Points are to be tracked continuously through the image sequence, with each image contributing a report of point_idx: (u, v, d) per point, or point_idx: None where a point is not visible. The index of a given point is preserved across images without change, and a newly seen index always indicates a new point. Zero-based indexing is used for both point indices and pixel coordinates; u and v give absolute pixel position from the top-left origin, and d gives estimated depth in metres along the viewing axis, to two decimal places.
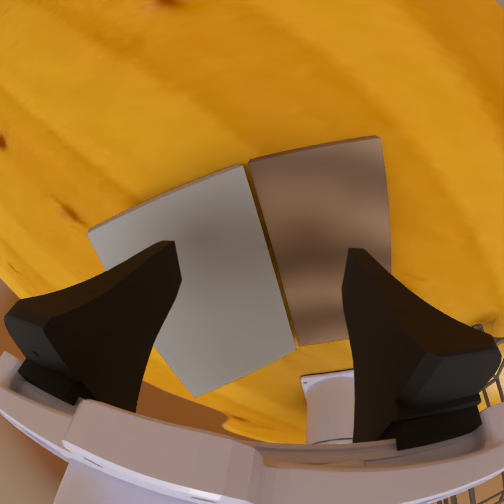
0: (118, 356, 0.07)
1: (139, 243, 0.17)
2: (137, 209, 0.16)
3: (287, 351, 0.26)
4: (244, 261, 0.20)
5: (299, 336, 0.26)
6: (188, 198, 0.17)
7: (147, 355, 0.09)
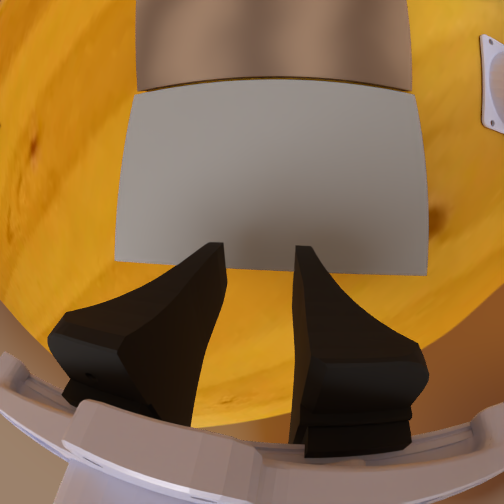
0: (180, 369, 0.07)
1: (146, 211, 0.15)
2: (118, 199, 0.15)
3: (411, 105, 0.13)
4: (227, 107, 0.14)
5: (392, 83, 0.13)
6: (133, 147, 0.15)
7: (200, 364, 0.09)
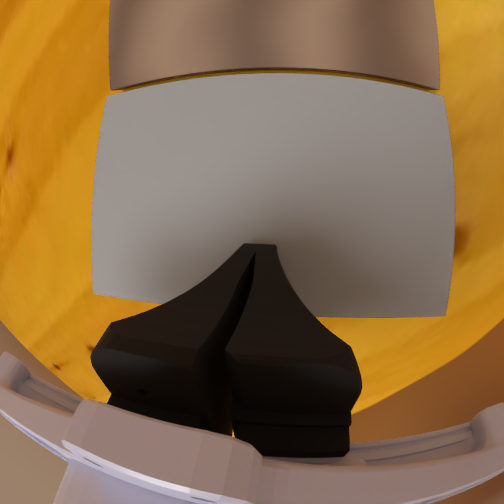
0: None
1: (122, 239, 0.13)
2: (92, 223, 0.13)
3: (439, 109, 0.10)
4: (214, 109, 0.11)
5: (418, 79, 0.10)
6: (106, 161, 0.12)
7: None
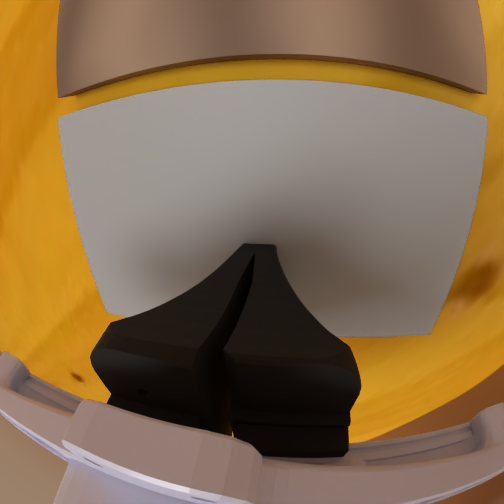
0: None
1: (122, 274, 0.13)
2: (87, 257, 0.13)
3: (479, 136, 0.07)
4: (190, 137, 0.09)
5: (461, 79, 0.06)
6: (81, 198, 0.11)
7: None
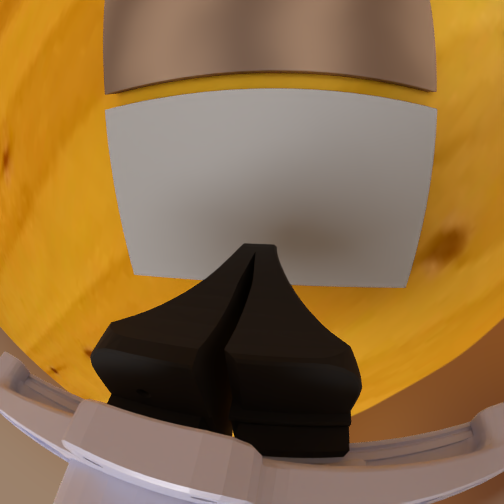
0: None
1: (152, 236, 0.16)
2: (122, 224, 0.16)
3: (429, 123, 0.11)
4: (215, 127, 0.13)
5: (414, 82, 0.10)
6: (122, 174, 0.14)
7: None
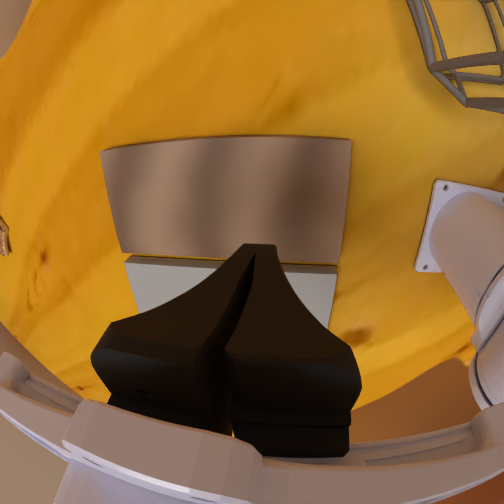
0: None
1: None
2: None
3: (330, 283, 0.21)
4: None
5: (321, 259, 0.20)
6: (141, 299, 0.25)
7: None
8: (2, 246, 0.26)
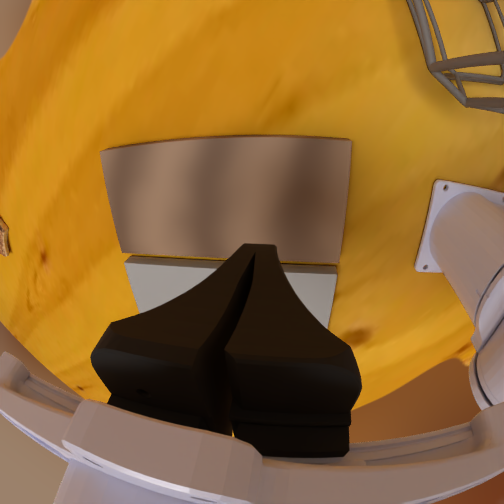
0: None
1: None
2: None
3: (330, 284, 0.21)
4: None
5: (321, 259, 0.20)
6: (141, 299, 0.25)
7: None
8: (2, 246, 0.26)
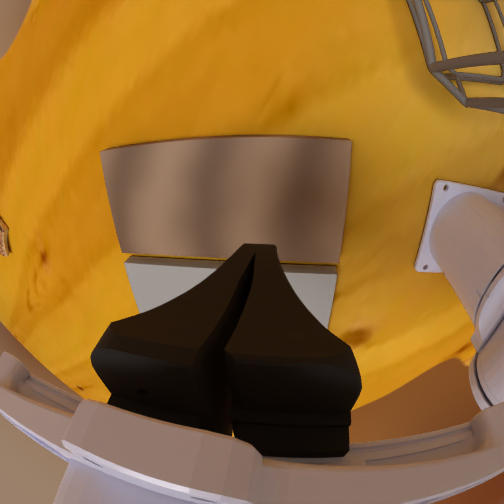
0: None
1: None
2: None
3: (330, 284, 0.21)
4: None
5: (321, 259, 0.20)
6: (141, 299, 0.25)
7: None
8: (2, 246, 0.26)
